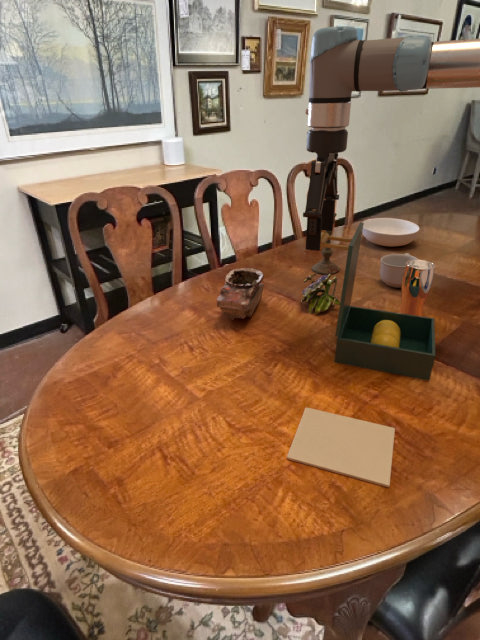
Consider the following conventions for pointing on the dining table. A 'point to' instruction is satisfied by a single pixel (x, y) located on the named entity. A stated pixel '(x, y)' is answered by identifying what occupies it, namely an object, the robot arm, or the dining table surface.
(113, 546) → the dining table surface
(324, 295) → the passion flower
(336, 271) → the candlestick holder
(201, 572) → the dining table surface
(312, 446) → the placemat
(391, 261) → the teacup
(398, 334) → the yellow capsule
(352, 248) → the lid
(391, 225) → the serving bowl
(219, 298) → the brown shoe shaped pot
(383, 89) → the robot arm
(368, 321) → the open box
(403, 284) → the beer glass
